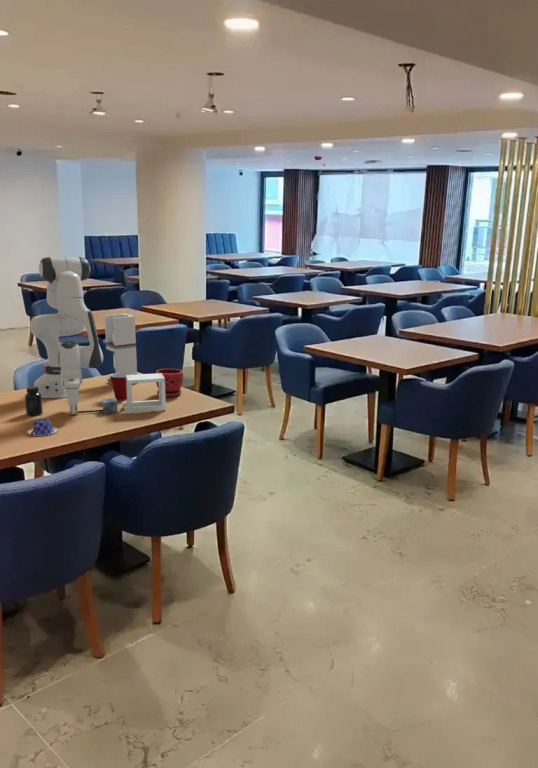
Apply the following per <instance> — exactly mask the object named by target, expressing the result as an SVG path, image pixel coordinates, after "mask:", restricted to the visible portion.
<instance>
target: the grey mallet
mask: <svg viewBox="0 0 538 768" xmlns="http://www.w3.org/2000/svg"><path fill="white" fill-rule="evenodd" d="M118 410H119V409H118V400H117V399H116V398H115V397H114V398H113V397H112V398H102V409H91V410H78V404H77V405H76V413H75V414H72V413H71V406H69V412H70V416H78V414H85V413H97V412H103V414H115V413H116V414H117V413H118V412H119V411H118Z"/></svg>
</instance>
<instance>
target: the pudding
mask: <svg viewBox="0 0 538 768" xmlns="http://www.w3.org/2000/svg"><path fill="white" fill-rule="evenodd" d="M32 429H33V431H32V433H35V434H37V435H35V434H33V436H35V437H38V436H39V437H40V436H41V437H42V436H43V437H44V436H46V435H47V434H48V435H47V436H50V435H52V434H55V433H57V432H58V431H59V428H58V427H55V426H52V423H51V421H50V419H48V418H45V417H44V418H38V419H35V420H34V422H33V426H32V428H30V429H28V430H27V431H26V433H27V435H30V436H32V435H31V434H29V433H28V431H30V430H32ZM53 430H54V432H53ZM52 432H53V433H52ZM49 433H51V434H49ZM39 434H40V435H39ZM45 434H46V435H45Z"/></svg>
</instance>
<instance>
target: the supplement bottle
mask: <svg viewBox="0 0 538 768" xmlns="http://www.w3.org/2000/svg"><path fill="white" fill-rule="evenodd" d="M38 391H39V390H38V387H37V386H34V385H33V386H28V387H26V394H25V395H24V401H25V402H24V403H25V411H26V412H25V413H26V415H27V416H29V415H30V416H29V417H35V416H36V415H37V416H40V415H42V414H43V402H42V401H43V398H41V394H40V393H39V392H38Z"/></svg>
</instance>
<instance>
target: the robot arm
mask: <svg viewBox="0 0 538 768" xmlns="http://www.w3.org/2000/svg"><path fill="white" fill-rule="evenodd" d="M38 272H39V273H38V274H39V275H40V278H41V279H42V280H44V282H47V283H46V303H47V304H48V306H50V307H51V308H52V309H55V310H58V311H57V312H56V313H47V314H46V313H45V314H41V315H40V314H39V315H37V316H33V317H32V318H31V320H30V322H29V330H30V332H31V334H32V336H34V337H35V338H37V339H38V340H39V341H41V343H42V344H43V345H44V347H45V350H46V355H47V362H48V363H47V364H44V365H43V369H44V373H43V374H42V375H41V376H40V377H38V378H37V379H36V380H35V381H34V383H33V386H37V387H38V390H39V391H38V392H39V393H40V394H41V398H42V399H63V398H64V399H65V398H66V399H67V403H68V406H69V407H70V406H71V413H72V414H75V413H76V405H77V406H78V403H79V392H80V391H79V390H80V387H81V385H82V384H83V372H82V369H83V368H85V369H87V368H88V369H98V368H99V367H101V366H102V364H103V361H104V354H103V351H102V348H101V345H100V341H99V336H98V331H97V327H96V322H95V319H94V315H93V312H92V311H91V309H90V308H88V307H87V305H86V304H85V302H84V301H85V300H84V290H83V289H84V288H83V284H82V281H86V280H87V279H88V278H89V277H90V275H91V266H90V263H89V260H88V259H87V258H85V257H80V256H79V257H76V256H65V255H64V256H56V257H55V256H54V257H50V256H48V257H43V258H41V260H40V261H39V264H38ZM85 328H86V329H85ZM84 329H85V330H86V334H87V336H88V337H87V338H88V341H89V345H79V343H78V342H76V341H73V340H71V341H70V340H69V341H64V342H61V341H60V339H59V338H60V337H66V336H74V335H78V334H81V333H82V332H83V331H84Z"/></svg>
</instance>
